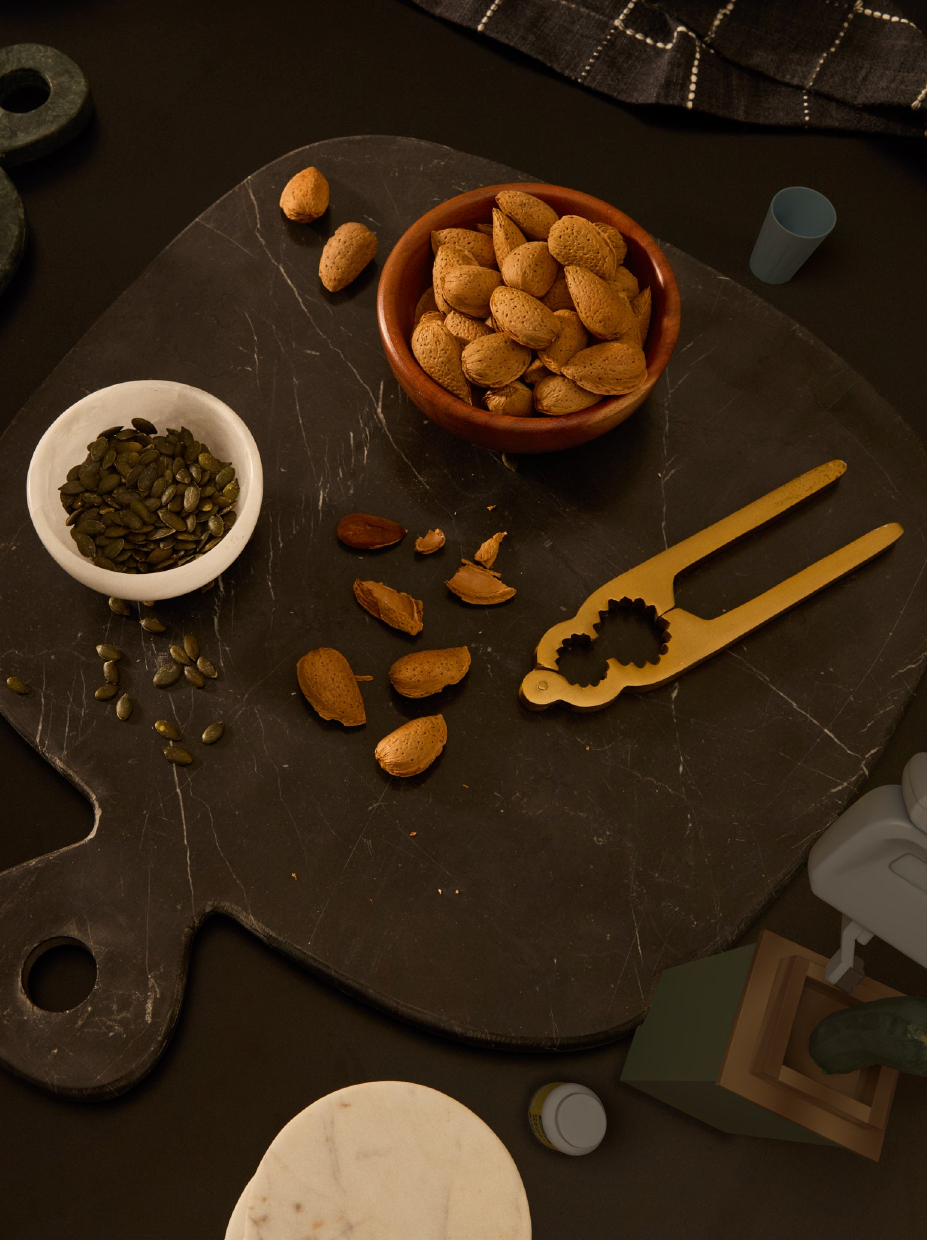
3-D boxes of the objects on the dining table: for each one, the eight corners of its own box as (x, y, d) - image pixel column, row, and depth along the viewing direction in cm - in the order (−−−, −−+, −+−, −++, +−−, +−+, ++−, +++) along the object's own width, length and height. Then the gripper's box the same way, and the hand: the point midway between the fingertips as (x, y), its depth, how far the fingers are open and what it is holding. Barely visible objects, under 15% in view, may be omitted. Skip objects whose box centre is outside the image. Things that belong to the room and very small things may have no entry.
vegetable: (779, 1021, 79) (923, 1004, 61) (833, 997, 80) (990, 973, 62) (812, 1088, 78) (970, 1091, 60) (867, 1063, 78) (1039, 1058, 60)
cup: (810, 289, 143) (846, 234, 134) (751, 296, 142) (783, 241, 133) (790, 241, 146) (823, 183, 137) (732, 247, 145) (762, 189, 136)
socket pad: (909, 1000, 81) (938, 996, 78) (871, 1162, 77) (900, 1166, 73) (759, 930, 83) (781, 923, 79) (714, 1085, 78) (735, 1085, 75)
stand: (756, 1021, 106) (900, 1004, 81) (724, 1133, 102) (866, 1151, 77) (653, 972, 108) (764, 940, 82) (618, 1080, 104) (723, 1081, 78)
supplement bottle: (514, 1114, 102) (535, 1117, 93) (556, 1068, 104) (580, 1067, 95) (558, 1165, 101) (584, 1174, 92) (600, 1118, 102) (629, 1122, 93)
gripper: (1233, 948, 63) (1065, 1108, 69) (892, 735, 68) (758, 901, 73) (1274, 1016, 58) (1087, 1185, 63) (898, 779, 62) (752, 955, 67)
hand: (908, 1031), depth 68 cm, fingers open, 8 cm apart
